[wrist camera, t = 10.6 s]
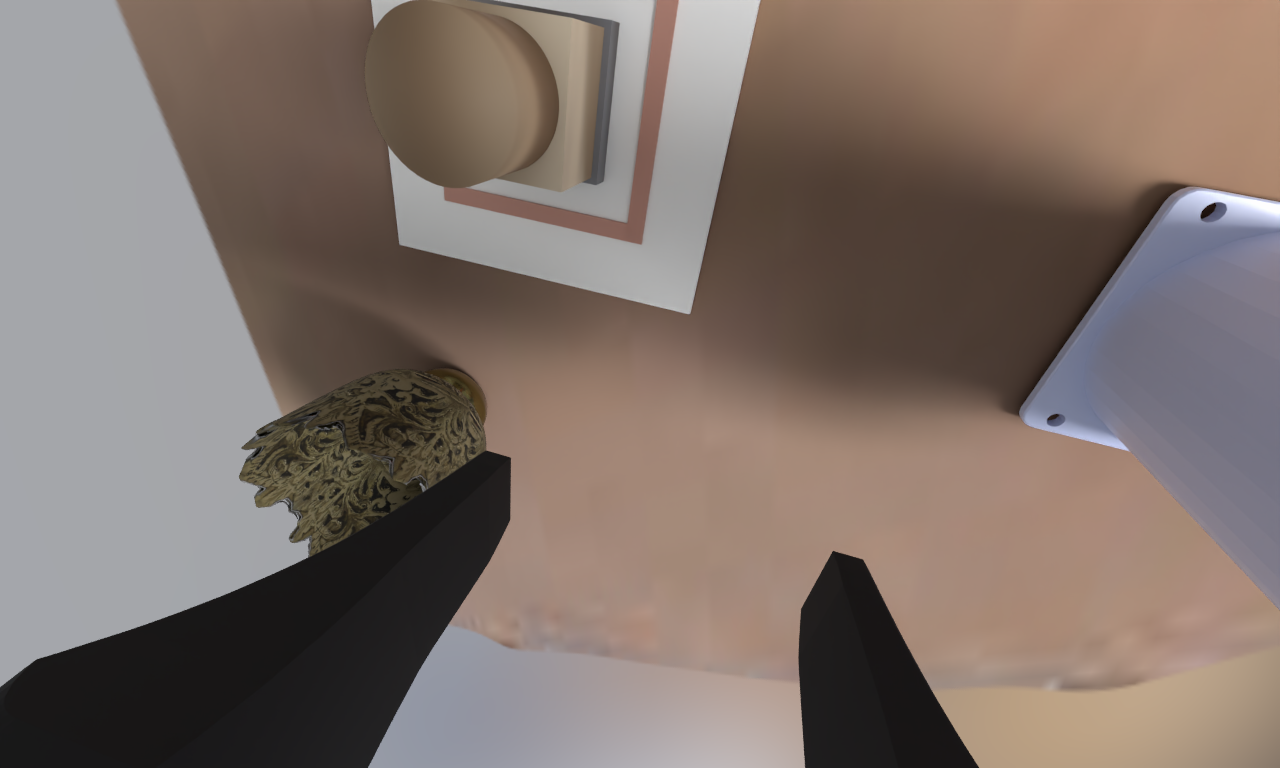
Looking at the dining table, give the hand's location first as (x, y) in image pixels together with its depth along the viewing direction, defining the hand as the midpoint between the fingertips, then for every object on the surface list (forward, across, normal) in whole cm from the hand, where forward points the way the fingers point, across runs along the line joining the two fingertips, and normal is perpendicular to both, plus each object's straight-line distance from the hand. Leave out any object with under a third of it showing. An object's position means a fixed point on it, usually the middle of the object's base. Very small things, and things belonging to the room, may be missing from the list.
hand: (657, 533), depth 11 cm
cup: (+10, +11, +6) cm, 16 cm away
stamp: (+10, +7, -7) cm, 14 cm away
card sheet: (+10, +7, -7) cm, 14 cm away
